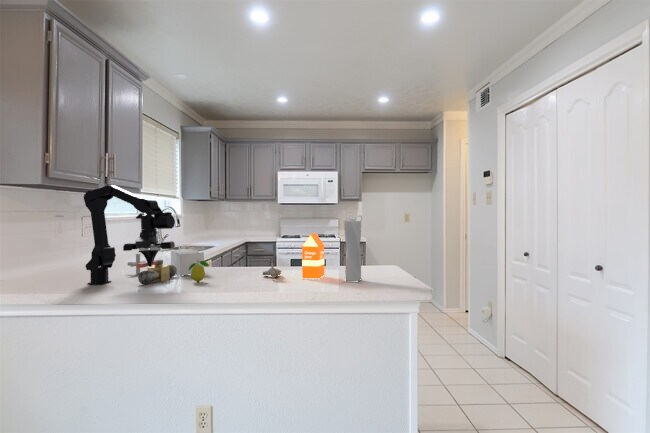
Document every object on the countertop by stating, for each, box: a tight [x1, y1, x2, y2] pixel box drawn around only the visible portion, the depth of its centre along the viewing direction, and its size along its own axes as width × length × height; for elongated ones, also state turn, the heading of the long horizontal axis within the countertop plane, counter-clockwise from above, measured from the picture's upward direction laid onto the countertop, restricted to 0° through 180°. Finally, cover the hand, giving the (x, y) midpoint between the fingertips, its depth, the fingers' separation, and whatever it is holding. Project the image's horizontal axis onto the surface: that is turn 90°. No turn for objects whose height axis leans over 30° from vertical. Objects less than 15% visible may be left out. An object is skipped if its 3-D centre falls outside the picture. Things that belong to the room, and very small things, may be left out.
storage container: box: [170, 248, 205, 277], centre depth 182 cm, size 25×11×11 cm, turn 33°
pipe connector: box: [127, 253, 147, 275], centre depth 177 cm, size 10×10×10 cm
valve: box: [262, 262, 282, 280], centre depth 160 cm, size 8×12×10 cm
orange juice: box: [301, 233, 325, 278], centre depth 159 cm, size 8×9×20 cm
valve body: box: [137, 263, 177, 286], centre depth 157 cm, size 20×6×7 cm, turn 174°
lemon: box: [189, 260, 210, 283], centre depth 152 cm, size 7×6×10 cm
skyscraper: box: [343, 214, 363, 283], centre depth 152 cm, size 8×8×28 cm
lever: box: [137, 259, 164, 269], centre depth 152 cm, size 15×4×2 cm, turn 172°
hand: (150, 266), depth 148 cm, fingers closed
